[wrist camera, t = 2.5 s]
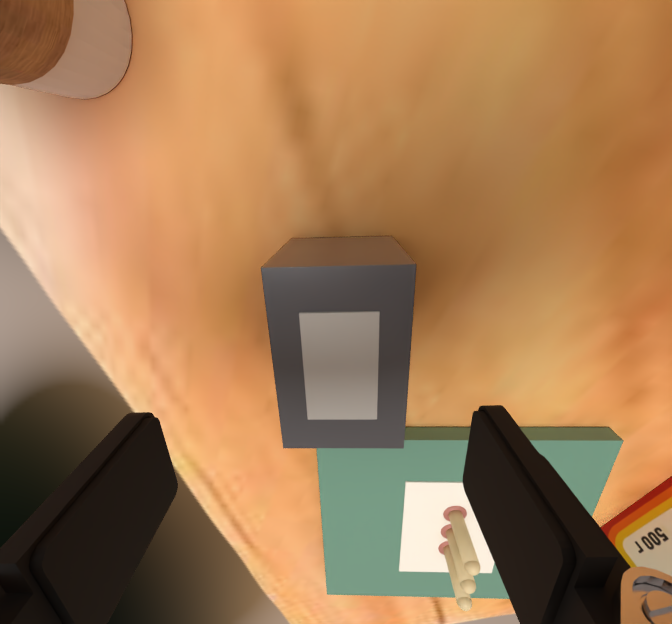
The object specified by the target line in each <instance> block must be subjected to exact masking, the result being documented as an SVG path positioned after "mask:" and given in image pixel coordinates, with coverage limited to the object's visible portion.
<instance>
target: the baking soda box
mask: <svg viewBox="0 0 672 624" xmlns="http://www.w3.org/2000/svg"><path fill="white" fill-rule="evenodd" d="M601 529H602V531H603V532H604V533H605V534H606V536H607V537H608V538H609V540H610V541H611V542H612V544H613V545H614V546H615V547H616V549H617V550H618V551H619V553H620V554H621V555H622V556H623V558H624V559H625V560H626V562H627V563H628V564H629V565H630V567H631V568H632V567H641V566H642V567H647V568H651V569H656V570H658V571H661V572H663V573H665V574H668V575H670V576H672V476H671V477H670V478H669V479H667V480H666V481H664V482H663V483H662V484H660V485H659V486H658V487H656V488H655V489H653V490H652V491H651V492H649V493H648V494H646V495H645V496H644V497H642V498H641V499H640V500H638V501H637V502H635V503H634V504H633V505H631V506H630V507H628V508H627V509H626V510H624V511H623V512H621V513H620V514H619V515H617V516H616V517H615V518H613V519H612V520H610V521H609V522H608V523H606V524H605V525H603V526H602V527H601Z"/></svg>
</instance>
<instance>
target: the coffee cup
mask: <svg viewBox="0 0 672 624" xmlns="http://www.w3.org/2000/svg"><path fill="white" fill-rule="evenodd" d="M131 46H132V33H131V25H130V18H129V15H128V11H127V8H126V4H125V1H124V0H0V84H9V85H14V86H18V87H23V88H27V89H32V90H37V91H41V92H46V93H51V94H55V95H60V96H65V97H70V98H78V99H90V98H97V97H99V96H102V95H104V94H106V93H108V92H109V91H110V90H112V89H113V88H114V87H116V86H117V84H118V83H119V82H120V80H121V79H122V78H123V76H124V74H125V72H126V69H127V67H128V64H129V60H130V55H131Z"/></svg>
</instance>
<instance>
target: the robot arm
mask: <svg viewBox="0 0 672 624" xmlns="http://www.w3.org/2000/svg"><path fill="white" fill-rule="evenodd" d="M463 487H464V491H465V493H466V496H467V498H468V500H469V503H470V505H471V508H472V510H473V512H474V515H475V517H476V520H477V522H478V524H479V527H480V529H481V531H482V534H483V536H484V539H485V541H486V543H487V546H488V548H489V551H490V553H491V555H492V558H493V560H494V562H495V565H496V567H497V570H498V572H499V574H500V577H501V579H502V582H503V584H504V586H505V589H506V591H507V593H508V596H509V598H510V601H511V603H512V605H513V608H514V610H515V613H516V615H517V617H518V620H519V622H520V624H672V576H670V575H668V574H665V573H663V572H661V571H658V570H656V569H651V568H647V567H642V566H641V567H632V568H631V567H630V565H629V564H628V563H627V562H626V560H625V559H624V558H623V556H622V555H621V554H620V553H619V551H618V550H617V549H616V547H615V546H614V545H613V544H612V542H611V541H610V540H609V538H608V537H607V536H606V534H605V533H604V532H603V531H602V529H601V528H600V527H599V525H598V524H597V523H596V522H595V520H594V519H593V518H592V516H591V515H590V514H589V513H588V511H587V510H586V509H585V507H584V506H583V505H582V504H581V502H580V501H579V500H578V498H577V497H576V496H575V495H574V493H573V492H572V491H571V489H570V488H569V487H568V486H567V484H566V483H565V482H564V480H563V479H562V478H561V476H560V475H559V474H558V473H557V471H556V470H555V469H554V467H553V466H552V465H551V464H550V462H549V461H548V460H547V459H546V458H545V457H544V456H543V455H541V454H539V452H538V451H537V450H536V448H535V447H534V446H533V444H532V443H531V442H530V441H529V439H528V438H527V437H526V435H525V434H524V433H523V431H522V430H521V429H520V427H519V426H518V425H517V424H516V422H515V421H514V420H513V418H512V417H511V416H510V414H509V413H508V412H507V410H506V409H505V408H504V407H503V406H501V405H494V406H480V407H479V410H478V411H474V412H473V416H472V422H471V428H470V434H469V441H468V447H467V453H466V459H465V465H464V472H463ZM177 488H178V483H177V479H176V476H175V472H174V469H173V465H172V462H171V459H170V455H169V452H168V448H167V445H166V442H165V438H164V435H163V432H162V428H161V425H160V421H159V419H158V418H156V417H154V415H153V414H152V413H149V412H147V413H129V414H127V415H126V416H125V417H124V418H123V419H122V420H121V421H120V422H119V423H118V424H117V425H116V426H115V428H113V430H112V431H111V432H110V433H109V434H108V435H107V436H106V437H105V438H104V439H103V440H102V441H101V442H100V443H99V444H98V446H96V448H95V449H94V450H93V451H92V452H91V453H90V454H89V455H88V456H87V457H86V458H85V459H84V460H83V462H81V463H80V464H79V466H78V467H77V468H76V469H75V470H74V471H73V472H72V473H71V474H70V475H69V476H68V477H67V478H66V479H65V480H64V481H63V482H62V484H61V485H60V486H59V487H58V488H57V489H56V490H55V491H54V492H53V493H52V494H51V495H50V496H49V497H48V498H47V499H46V500H45V502H44V503H43V504H42V505H41V506H40V507H39V508H38V509H37V510H36V511H35V512H34V513H33V514H32V515H31V517H29V519H28V520H27V521H26V522H25V523H24V524H23V525H22V526H21V527H20V528H19V529H18V530H17V531H16V532H15V533H14V535H12V537H11V538H10V539H9V540H8V541H7V542H6V543H5V544H4V545H3V546H2V547H1V548H0V624H107V623H108V621H109V619H110V617H111V615H112V613H113V612H114V610H115V608H116V606H117V604H118V602H119V600H120V598H121V597H122V595H123V593H124V591H125V589H126V587H127V585H128V583H129V582H130V580H131V578H132V576H133V574H134V572H135V570H136V568H137V567H138V565H139V563H140V561H141V559H142V557H143V555H144V553H145V552H146V550H147V548H148V546H149V544H150V542H151V540H152V539H153V537H154V535H155V533H156V531H157V529H158V527H159V525H160V523H161V522H162V520H163V518H164V516H165V514H166V512H167V510H168V508H169V506H170V505H171V503H172V501H173V499H174V497H175V495H176V492H177Z"/></svg>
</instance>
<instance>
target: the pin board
mask: <svg viewBox="0 0 672 624" xmlns="http://www.w3.org/2000/svg"><path fill="white" fill-rule="evenodd" d="M470 428H471V427H405V438H404V449H385V448H317V460H318V474H319V488H320V502H321V516H322V530H323V544H324V558H325V572H326V586H327V594H329V595H371V596H414V597H456V601H457V604H458V606H459V607H460V608H461V609H462V610H464V611H468V610H470V609H471V607H472V600H471V598H499V599H510V598H509V596H508V593H507V591H506V589H505V586H504V584H503V582H502V579H501V577H500V574H499V572H498V570H497V567H496V565H495V562H494V560H493V558H492V555H491V553H490V551H489V548H488V546H487V543H486V541H485V539H484V536H483V534H482V531H481V529H480V527H479V524H478V522H477V520H476V517H475V515H474V512H473V510H472V508H471V505H470V503H469V500H468V498H467V496H466V493H465V491H464V487H463V472H464V465H465V459H466V453H467V447H468V441H469V434H470ZM520 429H521V430H522V431H523V433H524V434H525V435H526V437H527V438H528V439H529V441H530V442H531V443H532V444H533V446H534V447H535V448H536V450H537V451H538V452H539V454H541V455H543V456H544V457H545V458H546V459H547V460H548V461H549V462H550V464H551V465H552V466H553V467H554V469H555V470H556V471H557V473H558V474H559V475H560V476H561V478H562V479H563V480H564V482H565V483H566V484H567V486H568V487H569V488H570V489H571V491H572V492H573V493H574V495H575V496H576V497H577V498H578V500H579V501H580V502H581V504H582V505H583V506H584V507H585V509H586V510H587V511H588V513H589V514H590V515H591V516H592V515H593V513H594V510H595V508H596V505H597V503H598V501H599V498H600V496H601V493H602V491H603V489H604V486H605V484H606V481H607V479H608V477H609V474H610V472H611V469H612V467H613V465H614V462H615V460H616V457H617V455H618V453H619V450H620V448H621V445H622V443H623V440H622V439H621V438H620V437H619V436H618V435H617V434H616V433H615V432H614V431H613V430H612V429H610V428H609V427H520Z"/></svg>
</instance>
